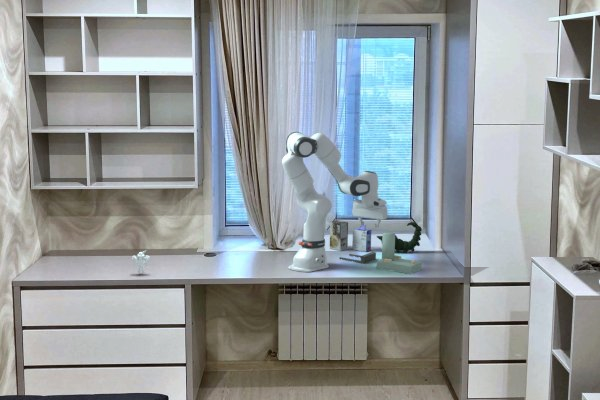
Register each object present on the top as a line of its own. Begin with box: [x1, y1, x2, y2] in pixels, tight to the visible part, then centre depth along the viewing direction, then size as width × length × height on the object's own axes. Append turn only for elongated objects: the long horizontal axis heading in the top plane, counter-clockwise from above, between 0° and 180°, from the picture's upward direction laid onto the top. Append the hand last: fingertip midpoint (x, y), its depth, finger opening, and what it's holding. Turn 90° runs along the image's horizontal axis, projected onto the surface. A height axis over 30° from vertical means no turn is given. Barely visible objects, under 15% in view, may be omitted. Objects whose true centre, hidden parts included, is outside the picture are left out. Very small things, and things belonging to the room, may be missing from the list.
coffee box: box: [329, 219, 349, 252], centre depth 446 cm, size 9×6×16 cm
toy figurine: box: [376, 221, 423, 254], centre depth 439 cm, size 9×19×25 cm
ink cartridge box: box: [351, 224, 372, 252], centre depth 444 cm, size 10×6×14 cm, turn 53°
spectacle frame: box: [338, 251, 377, 265], centre depth 423 cm, size 12×16×4 cm
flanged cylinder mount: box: [376, 231, 423, 275], centre depth 402 cm, size 12×20×18 cm, turn 54°
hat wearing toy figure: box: [131, 249, 150, 275], centre depth 390 cm, size 9×4×12 cm, turn 92°
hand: (369, 226), depth 416 cm, fingers open, 8 cm apart
